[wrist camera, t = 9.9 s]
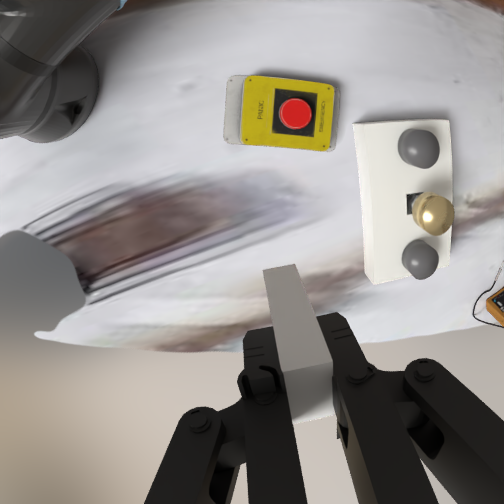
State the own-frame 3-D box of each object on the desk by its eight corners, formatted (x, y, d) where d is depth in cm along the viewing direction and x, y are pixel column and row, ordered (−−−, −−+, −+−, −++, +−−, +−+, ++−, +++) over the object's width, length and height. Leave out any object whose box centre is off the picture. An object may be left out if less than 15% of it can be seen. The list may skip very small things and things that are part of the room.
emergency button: (343, 156, 38) (221, 146, 36) (333, 152, 42) (222, 143, 40) (350, 84, 34) (226, 70, 33) (339, 87, 38) (227, 75, 37)
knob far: (390, 233, 46) (411, 251, 39) (416, 228, 46) (440, 244, 39) (390, 262, 48) (409, 282, 41) (416, 256, 48) (437, 275, 41)
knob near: (382, 128, 40) (406, 131, 33) (411, 126, 39) (438, 129, 33) (386, 162, 42) (410, 170, 35) (414, 159, 41) (440, 167, 35)
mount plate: (352, 123, 39) (363, 124, 36) (434, 118, 39) (449, 120, 35) (364, 273, 49) (373, 285, 45) (436, 256, 48) (448, 265, 45)
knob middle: (397, 187, 40) (423, 200, 33) (426, 183, 40) (454, 195, 33) (398, 221, 42) (423, 239, 35) (426, 216, 42) (453, 232, 35)
